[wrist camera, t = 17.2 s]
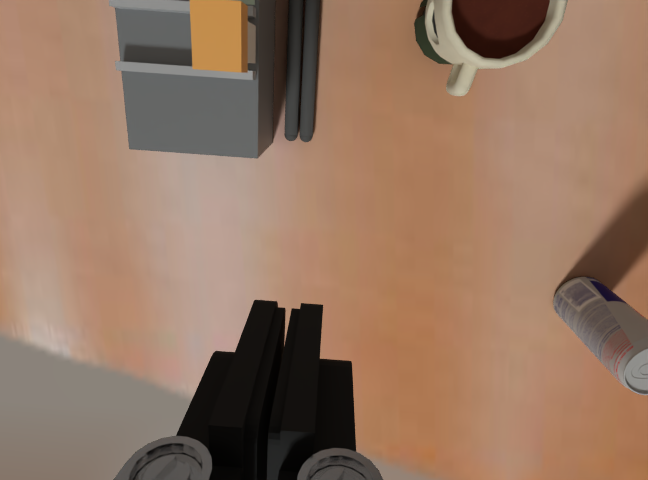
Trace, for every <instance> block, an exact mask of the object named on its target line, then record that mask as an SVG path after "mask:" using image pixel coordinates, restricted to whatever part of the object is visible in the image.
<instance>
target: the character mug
mask: <svg viewBox="0 0 648 480" xmlns="http://www.w3.org/2000/svg"><path fill="white" fill-rule="evenodd" d="M567 1H568V0H423V1H422V2H421V5H420V7H423V6H426V5H427V6H426V9H425V11H424V12H423V16H421V17H419V18H417V19H416V20H415V23H414V26H415V35H416V41H417V43H418V44H419V46H420V48H421V50H422V51H423V53H424V55H425V56H427V57H429V58H430V59H432V60H434V61H436V62H437V63H439V64H453V68H452V70H451V73H450V76H449V78H448V81H447V86H446V90H447V92H448V93H449V94H450V95H454V96H464V95H465V94H466V93H467V92H468V91H469V89H470V87H471V85H472V82H473V80H474V77H475V75H476V72H477V70H478V69H495V68H503V67H506V66H509V65H512V64H515V63H518V62H521V61H525V60H527V59H528V58H530V57H531V56H532V55H533V54H535V53H536V52H537V51H539V50H540V49H541V48H542V47H544V46H545V45H546V44H547V43H548V42H549V40H550V39H551V37H552V36H553V34H554V33H555V31H556V30H557V28H558V27H559V25H560V24H561V22H562V21H563V17H564V13H565V9H566V5H567Z"/></svg>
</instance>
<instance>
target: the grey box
mask: <svg viewBox="0 0 648 480" xmlns="http://www.w3.org/2000/svg"><path fill="white" fill-rule="evenodd" d="M232 1H242V2H243V3H244V4H246V5H247V6H248V22H250V23H252V24H253V25H255V26H256V55H255V63H248V73H240V72H226V71H212V70H198V69H193V68H192V45H191V22H190V0H109V6H112V7H115V11H116V21H117V31H118V41H119V51H120V61H115V64H116V70H119V71H122V81H123V91H124V101H125V111H126V121H127V131H128V141H129V149H135V150H148V151H162V152H176V153H190V154H204V155H217V156H231V157H245V158H259V156H260V155H261V154H262V153H263V152H264V151H265V150H266V149H267V148H268V147H269V146H270V145H271V144H272V143H273V97H274V51H275V6H276V0H232Z"/></svg>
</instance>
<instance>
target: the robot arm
mask: <svg viewBox="0 0 648 480" xmlns="http://www.w3.org/2000/svg"><path fill="white" fill-rule="evenodd" d="M322 313H323V305H318V304H304V303H301V307H300V309H292V310H291V316H290V321H289V326H288V331H287V336H286V341H285V346H284V337H285V308H279V307H278V303H277V301H264V300H254V302H253V305H252V308H251V311H250V313H249V316H248V319H247V321H246V324H245V327H244V329H243V332H242V335H241V338H240V340H239V343H238V346H237V348H236V351H235V352H222V351H215V352H214V353H213V355H212V357H211V359H210V361H209V363H208V365H207V368H206V370H205V372H204V374H203V377H202V379H201V381H200V383H199V386H198V388H197V390H196V392H195V395H194V397H193V399H192V401H191V403H190V406H189V408H188V410H187V412H186V415H185V417H184V419H183V421H182V424H181V426H180V428H179V431H178V432H177V435H176V436H172V437H166V438H161V439H158V440H156V441H153V442H151V443H148V444H147V445H145V446H144V447H143V448H141V449H139V450H138V451H137V452H135V453H134V454H133V455H132V457H131V458H130V459H129V460H128V461H127V462H126V463H125V464H124V466H123V467H122V469H121V470H120V471H119V473H118V474H117V476H116V477H115V478H114V480H383V479H382V476H381V474H380V472H379V470H378V469H377V468H376V467H375V465H374V464H373V463H372V462H371V461H370V460H369V459H367V458H366V457H364V456H363V455H361V454H360V453H357V452H356V440H355V419H354V398H353V377H352V362H351V361H343V360H330V359H320V343H321V328H322Z"/></svg>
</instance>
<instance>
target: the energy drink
mask: <svg viewBox="0 0 648 480" xmlns="http://www.w3.org/2000/svg"><path fill="white" fill-rule="evenodd" d="M553 305H554V309H555V311H556V313H557V314H558V315H559V317H560V318H561V319H562V320H563V321H564V322H565V323H566V324H567V325H568V326H569V328H570V329H571V330H572V331H573V332H574V333H575V334H576V335H577V336H578V337H579V338H580V340H581V341H582V342H583V343H584V344H585V345H586V346H587V347H588V348H589V349H590V351H591V352H592V353H593V354H594V355H595V356H596V357H597V358H598V359H599V360H600V362H601V363H602V364H603V365H604V366H605V367H606V368H607V369H608V370H609V371H610V372H611V374H612V375H613V376H614V377H615V378H616V379H617V380H618V381H619V382H620V383H621V384H622V385H623V386H625V387H627V388H629V389H630V390H632V391H633V392H635V393H637V394H642V395H648V320H647V319H646V318H645V317H643V316H642V315H641V314H640V313H638V312H637V311H636V310H635V309H633V308H632V307H631V306H630V305H628V304H627V303H626V302H625V301H623V300H622V299H621V298H619V297H618V296H617V295H616V294H614V293H613V292H612V291H611V290H609V289H608V288H607V287H606V286H604V285H603V284H602V283H601V282H599V281H598V280H596V279H594V278H591V277H578V278H574V279H571V280H569V281H567V282H566V283H564V284H563V285H562V286H561V287H560V288H559V289H558V291H557V292H556V294H555V297H554V302H553Z"/></svg>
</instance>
